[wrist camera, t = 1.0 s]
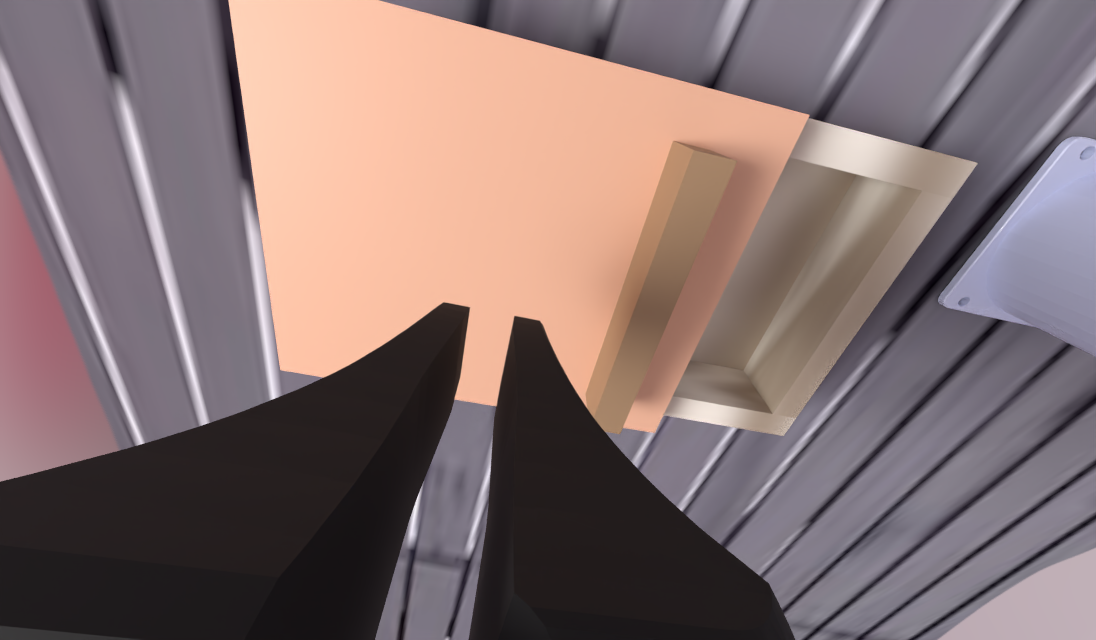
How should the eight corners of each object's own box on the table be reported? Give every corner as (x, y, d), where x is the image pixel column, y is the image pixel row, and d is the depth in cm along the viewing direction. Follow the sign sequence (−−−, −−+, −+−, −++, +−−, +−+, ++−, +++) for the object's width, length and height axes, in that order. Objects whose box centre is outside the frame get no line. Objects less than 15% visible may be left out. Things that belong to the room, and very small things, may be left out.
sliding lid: (791, 112, 13) (854, 120, 10) (649, 416, 19) (665, 469, 16) (249, -31, 11) (154, -68, 8) (294, 355, 17) (248, 403, 15)
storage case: (890, 147, 17) (977, 163, 14) (748, 383, 23) (783, 435, 20) (516, 49, 15) (506, 37, 12) (473, 332, 22) (459, 379, 18)
